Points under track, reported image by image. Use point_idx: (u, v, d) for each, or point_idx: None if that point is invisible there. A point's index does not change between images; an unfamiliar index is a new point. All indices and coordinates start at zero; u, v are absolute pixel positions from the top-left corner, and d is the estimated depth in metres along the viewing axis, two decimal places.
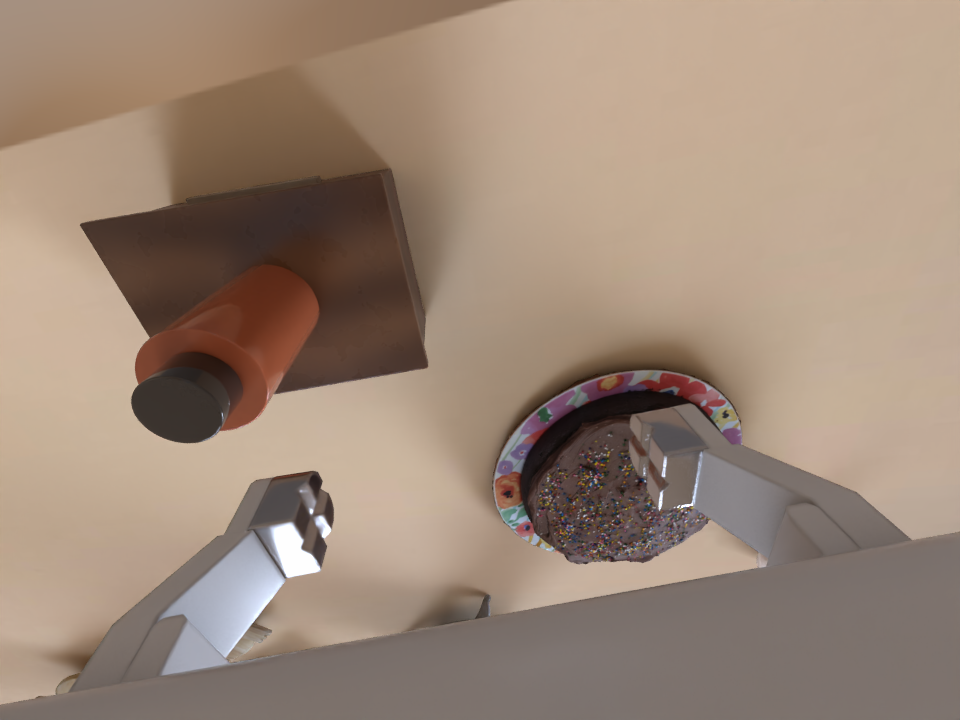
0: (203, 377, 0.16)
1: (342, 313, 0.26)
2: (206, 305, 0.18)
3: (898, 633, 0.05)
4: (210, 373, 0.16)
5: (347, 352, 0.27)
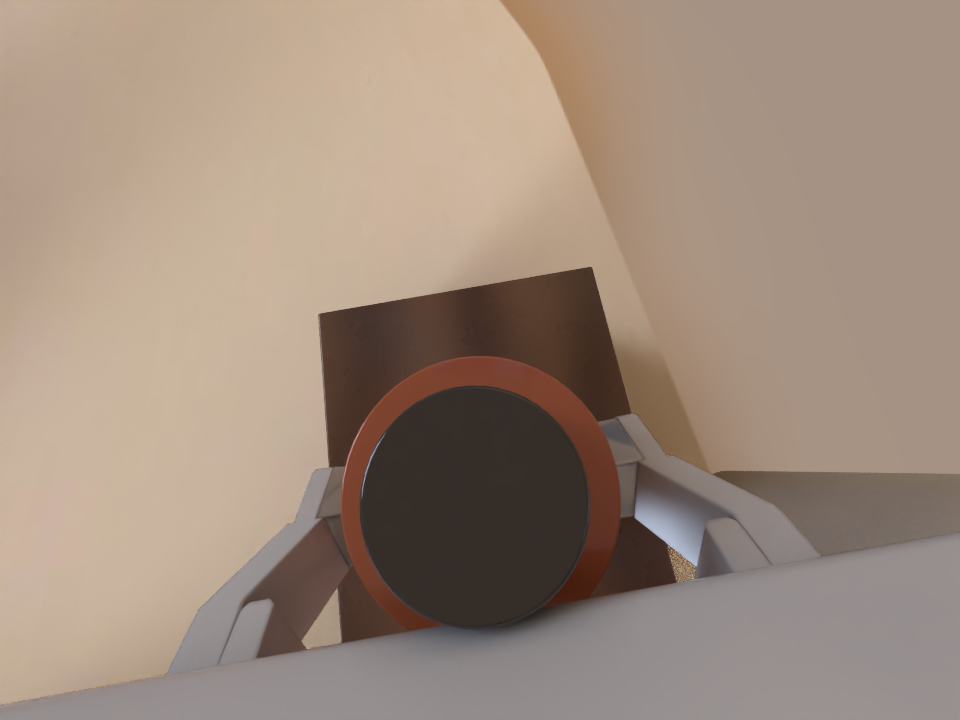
0: None
1: None
2: None
3: (897, 633, 0.05)
4: None
5: None
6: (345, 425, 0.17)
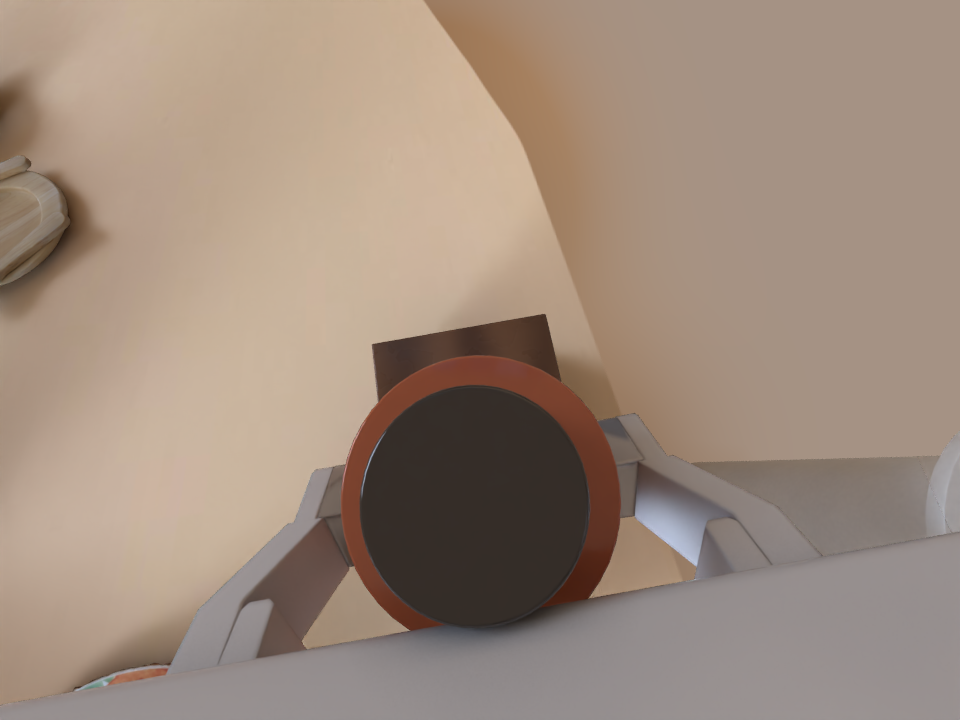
0: None
1: None
2: None
3: (898, 633, 0.05)
4: None
5: None
6: None
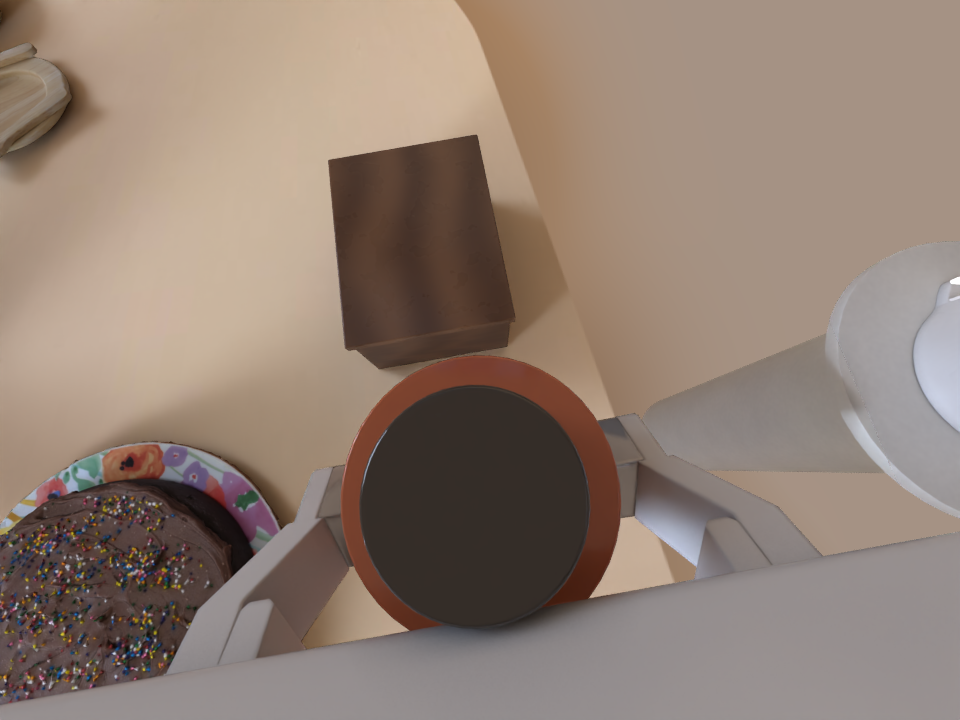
0: None
1: (405, 280, 0.31)
2: None
3: (898, 633, 0.05)
4: None
5: (368, 280, 0.31)
6: (342, 211, 0.32)
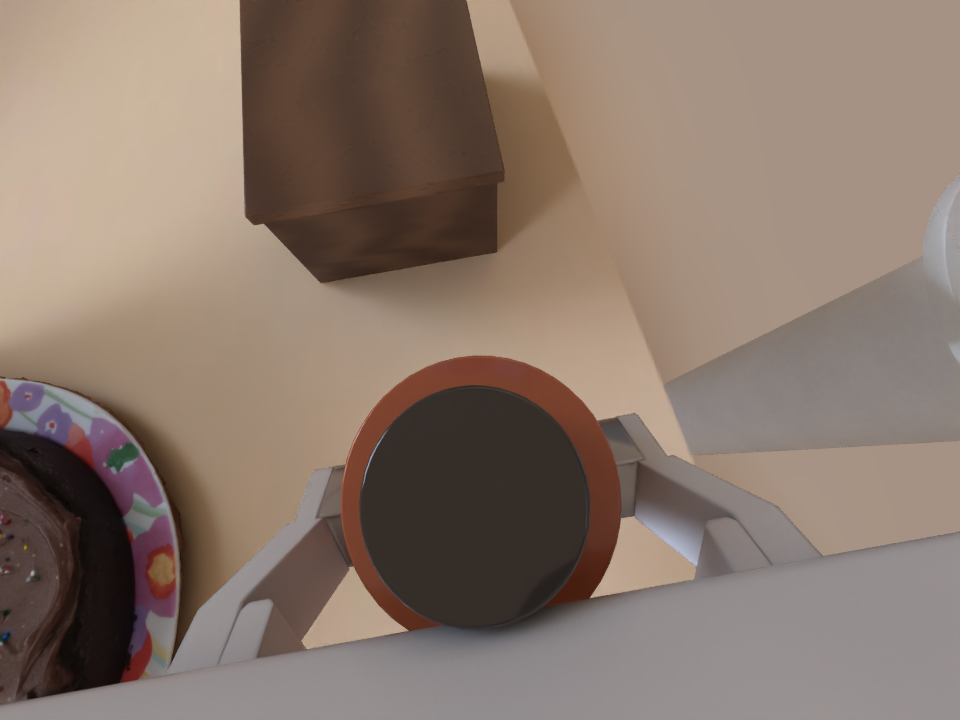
0: None
1: (341, 122, 0.20)
2: None
3: (898, 633, 0.05)
4: None
5: (286, 123, 0.21)
6: (255, 35, 0.22)
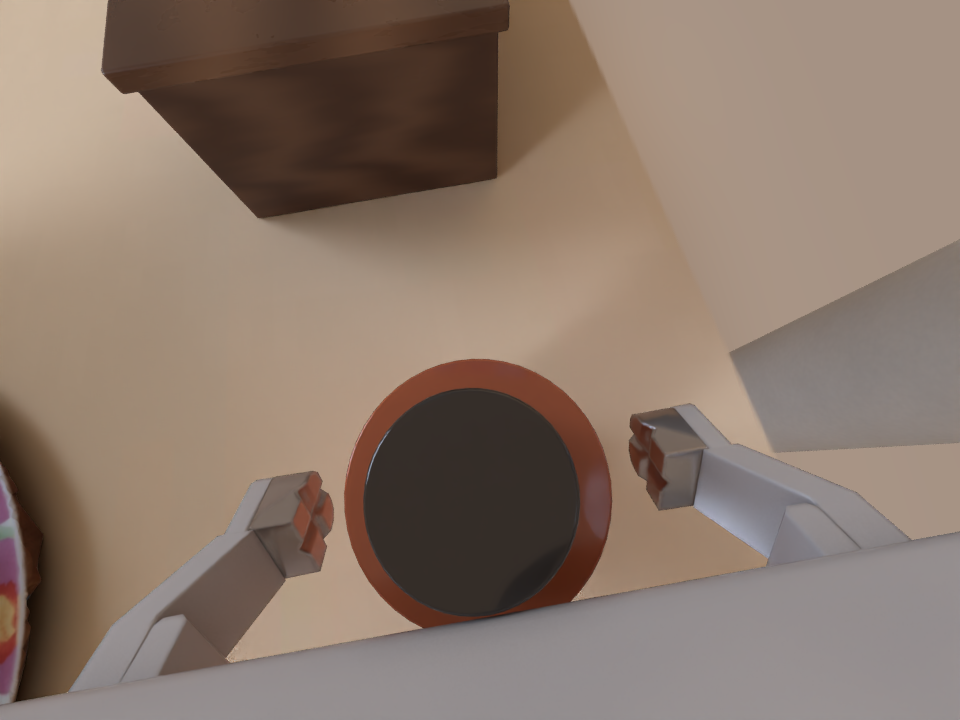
0: None
1: None
2: None
3: (898, 633, 0.05)
4: None
5: None
6: None
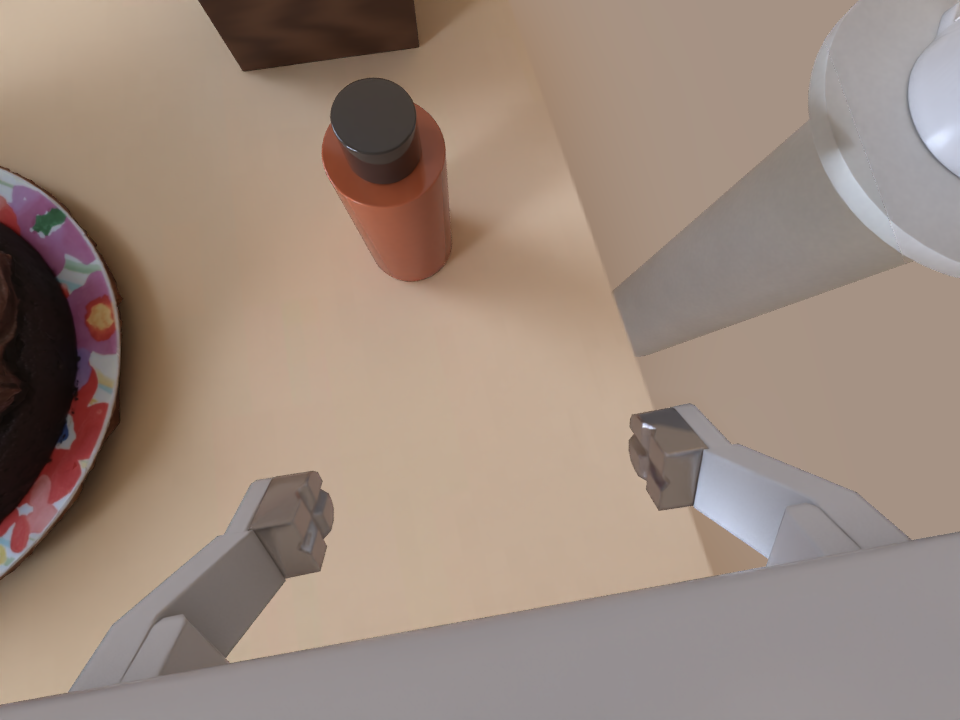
0: (407, 149, 0.16)
1: None
2: None
3: (898, 633, 0.05)
4: (407, 157, 0.16)
5: None
6: None
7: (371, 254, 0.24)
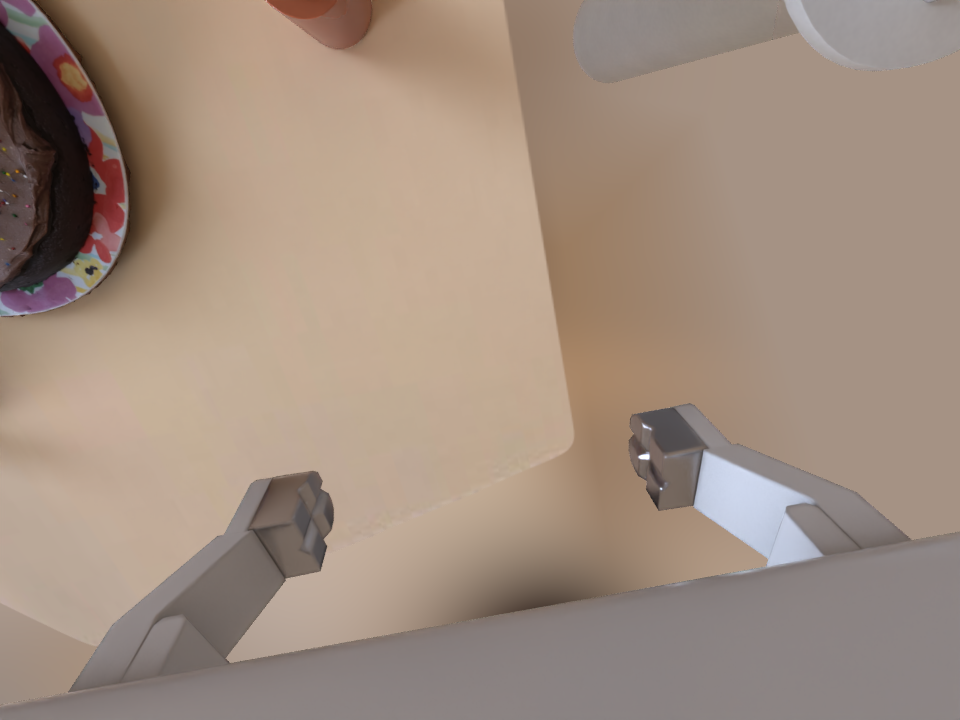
0: None
1: None
2: None
3: (898, 633, 0.05)
4: None
5: None
6: None
7: None
